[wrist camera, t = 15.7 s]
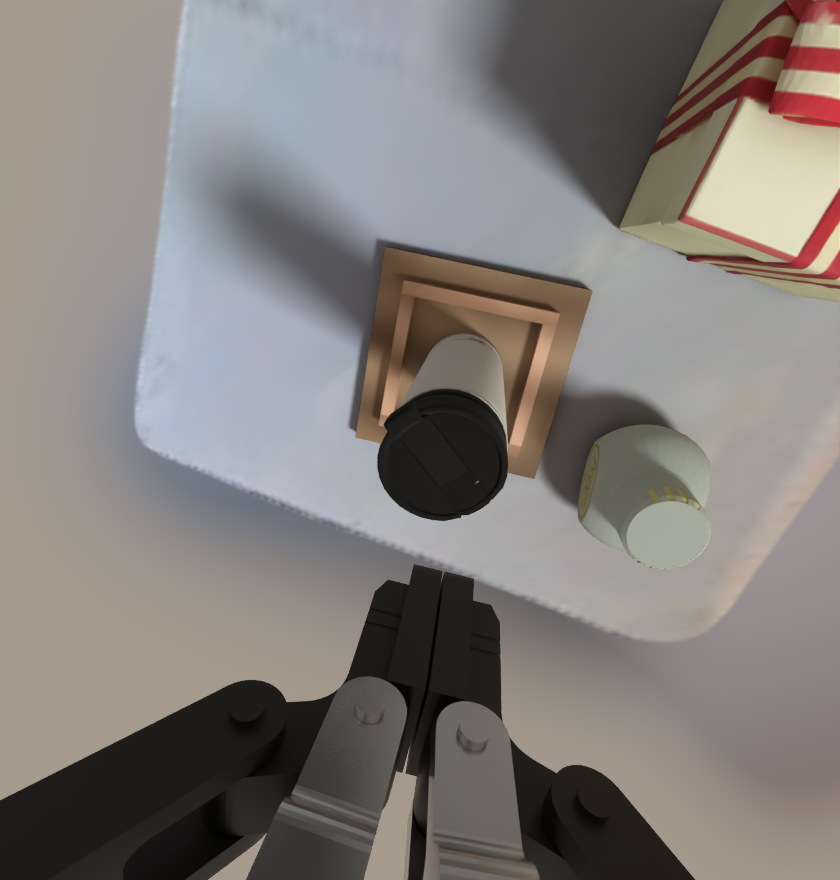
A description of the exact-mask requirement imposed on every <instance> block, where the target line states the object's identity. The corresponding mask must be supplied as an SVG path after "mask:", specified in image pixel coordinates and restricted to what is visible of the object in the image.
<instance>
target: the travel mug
mask: <svg viewBox="0 0 840 880" xmlns="http://www.w3.org/2000/svg"><path fill="white" fill-rule="evenodd" d="M384 427H385V429H386V430H387V433H386V435H385V437H384V439H383V441H382V443H381V445H380V448H379V453H378V472H379V477H380V480H381V482H382V484H383V487H384V489H385V490H386V492H387V493H388V494H389V496H390V497H391V498H392V499H393V500H394V501H395V502H396V503H397V504H398V505H399V506H400V507H402V508H404V509H405V510H407V511H408V512H410V513H412V514H414V515H417V516H419V517H422V518H426V519H430V520H439V521H447V520H452V519H456V518H461V515H469V514H471V513H474V512H476V511H478V510H480V509H481V508H483V507H484V506H486V505H487V504H489V502H490V501H491V499H493V498H494V497H495V496H496V495H497V494H498V493H499V491H500V490H501V489H502V488H503V486H504V483H505V481H506V478H507V472H508V453H507V452H508V437H507V422H506V408H505V394H504V380H503V367H502V361H501V357H500V355H499V353H498V351H497V349H496V348H495V347H494V345H493V344H492V343H491V342H490V341H488V340H487V339H486V338H484V337H482V336H480V335H478V334H475V333H471V332H458V333H453V334H450V335H448V336H446V337H444V338H442V339H441V340H440V341H439V342H437V343H436V344H435V345H434V347H433V348H432V349H431V351H430V353H429V354H428V356H427V358H426V360H425V362H424V364H423V365H422V367H421V369H420V371H419V373H418V374H417V376H416V378H415V380H414V382H413V383H412V385H411V387H410V389H409V391H408V392H407V394H406V396H405V398H404V400H403V401H402V403H401V405H400V407H399V408H398V409H397V410H395V411H394V412H393V413H391V414H390V415H389V416H388V418H387V419H386V421H385V422H384Z"/></svg>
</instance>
